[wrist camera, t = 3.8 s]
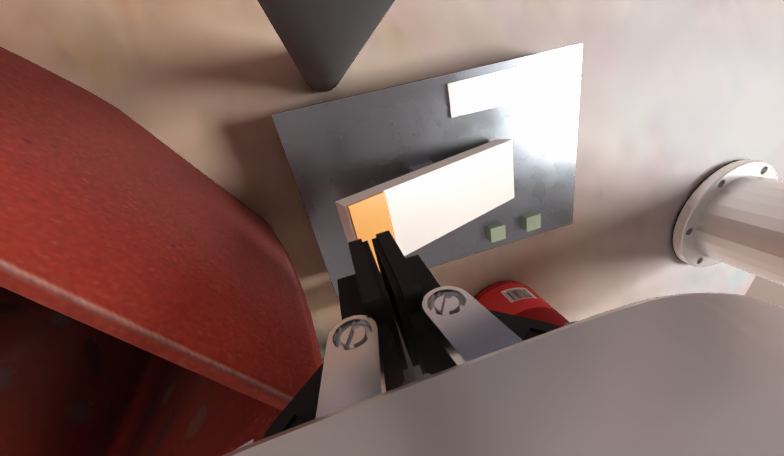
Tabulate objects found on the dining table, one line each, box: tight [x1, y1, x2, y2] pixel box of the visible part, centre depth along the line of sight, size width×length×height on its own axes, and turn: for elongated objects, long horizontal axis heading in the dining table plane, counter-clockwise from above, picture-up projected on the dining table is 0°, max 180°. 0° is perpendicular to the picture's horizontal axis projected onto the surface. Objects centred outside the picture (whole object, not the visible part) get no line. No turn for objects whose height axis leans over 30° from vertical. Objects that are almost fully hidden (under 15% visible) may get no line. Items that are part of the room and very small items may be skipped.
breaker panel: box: [272, 43, 583, 297], centre depth 21 cm, size 20×13×6 cm, turn 102°
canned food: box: [475, 281, 569, 327], centre depth 27 cm, size 8×8×11 cm
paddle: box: [335, 139, 514, 271], centre depth 17 cm, size 12×4×1 cm, turn 101°
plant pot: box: [0, 47, 323, 456], centre depth 13 cm, size 19×19×17 cm
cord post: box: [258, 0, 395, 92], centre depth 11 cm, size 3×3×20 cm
